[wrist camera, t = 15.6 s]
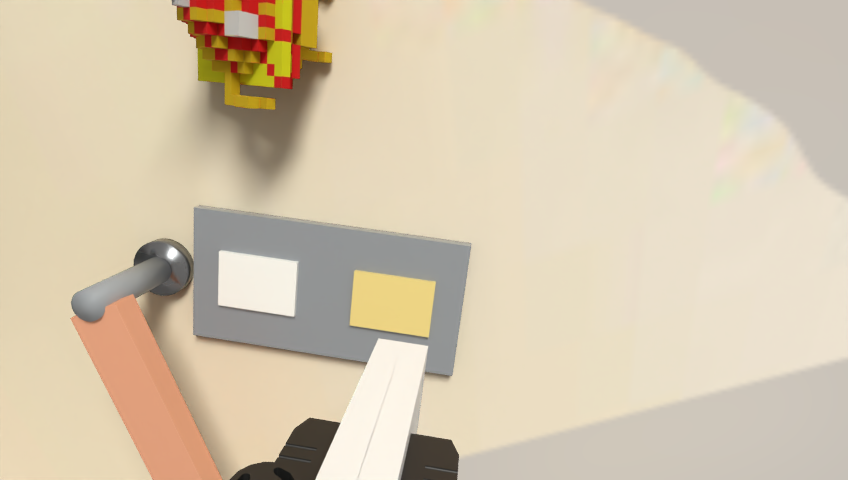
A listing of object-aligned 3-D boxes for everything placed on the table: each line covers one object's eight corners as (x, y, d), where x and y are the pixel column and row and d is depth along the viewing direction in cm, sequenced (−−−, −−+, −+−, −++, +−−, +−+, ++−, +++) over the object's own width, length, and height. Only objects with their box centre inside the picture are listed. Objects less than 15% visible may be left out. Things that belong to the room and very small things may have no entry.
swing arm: (133, 264, 47) (48, 302, 38) (171, 251, 46) (95, 286, 37) (246, 503, 52) (196, 587, 43) (283, 494, 51) (239, 579, 42)
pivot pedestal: (142, 286, 49) (134, 291, 48) (141, 235, 48) (133, 238, 47) (194, 294, 49) (187, 299, 48) (194, 242, 48) (187, 246, 46)
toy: (349, 114, 42) (162, 105, 30) (269, 104, 47) (82, 93, 35) (359, -79, 38) (152, -177, 26) (271, -66, 43) (65, -142, 32)
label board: (198, 330, 50) (191, 336, 48) (199, 205, 47) (191, 208, 45) (452, 370, 48) (452, 378, 47) (471, 243, 45) (470, 247, 44)
